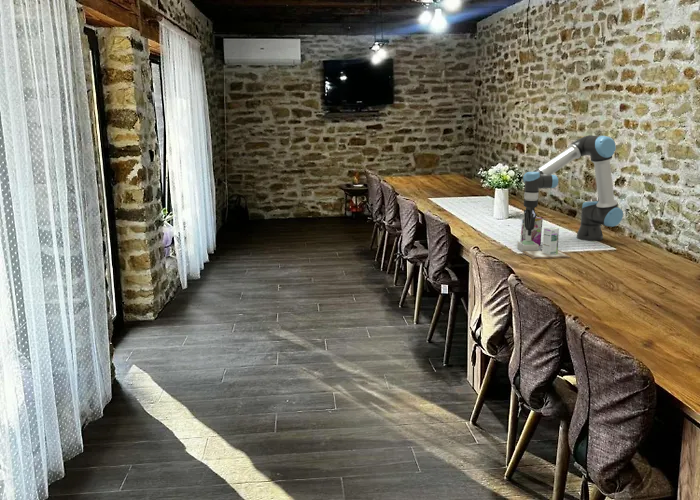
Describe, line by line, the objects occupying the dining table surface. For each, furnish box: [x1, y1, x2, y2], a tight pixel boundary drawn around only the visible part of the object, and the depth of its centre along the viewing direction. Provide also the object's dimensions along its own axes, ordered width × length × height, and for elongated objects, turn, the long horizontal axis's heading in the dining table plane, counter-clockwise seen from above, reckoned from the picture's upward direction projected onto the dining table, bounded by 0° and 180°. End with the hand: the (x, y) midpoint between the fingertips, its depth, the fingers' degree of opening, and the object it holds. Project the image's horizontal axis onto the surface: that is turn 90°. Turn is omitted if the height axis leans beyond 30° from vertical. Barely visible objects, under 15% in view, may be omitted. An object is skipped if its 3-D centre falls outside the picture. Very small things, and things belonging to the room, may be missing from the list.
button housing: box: [516, 241, 540, 253], centre depth 347 cm, size 9×9×4 cm
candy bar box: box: [519, 216, 543, 246], centre depth 359 cm, size 11×5×16 cm, turn 84°
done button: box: [523, 240, 534, 245], centre depth 346 cm, size 6×6×4 cm
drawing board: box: [522, 249, 572, 260], centre depth 335 cm, size 21×15×1 cm
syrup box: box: [541, 226, 560, 255], centre depth 333 cm, size 6×6×14 cm
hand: (528, 240), depth 346 cm, fingers closed
